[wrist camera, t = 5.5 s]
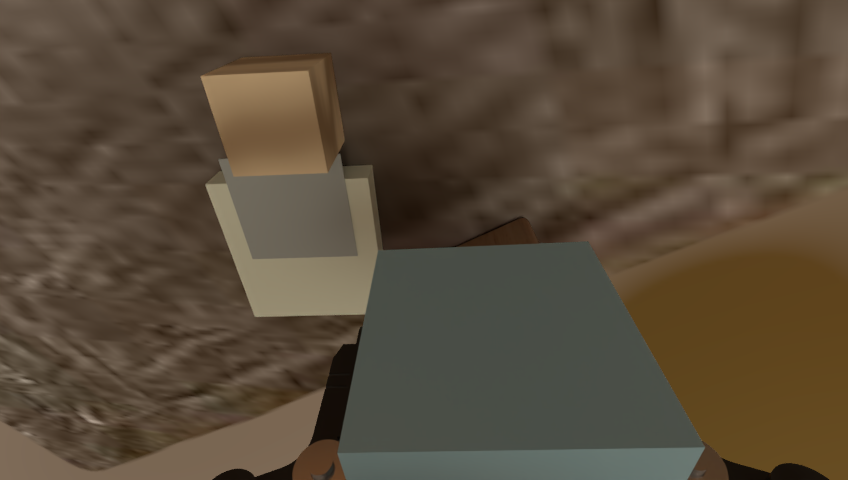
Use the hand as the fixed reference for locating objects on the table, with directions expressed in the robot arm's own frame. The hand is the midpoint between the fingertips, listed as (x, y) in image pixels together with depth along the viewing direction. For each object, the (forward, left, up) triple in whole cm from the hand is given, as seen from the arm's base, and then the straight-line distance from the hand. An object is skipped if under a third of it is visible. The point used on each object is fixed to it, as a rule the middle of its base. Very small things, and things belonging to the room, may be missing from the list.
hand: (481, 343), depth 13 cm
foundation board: (+6, -10, -16) cm, 20 cm away
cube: (0, 0, -1) cm, 1 cm away
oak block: (-4, -9, -16) cm, 19 cm away
